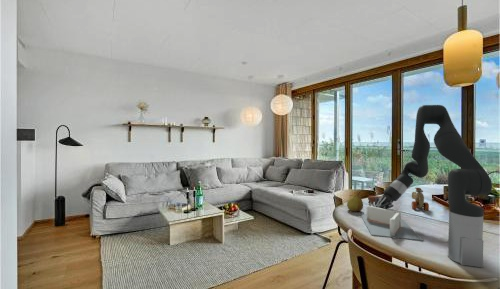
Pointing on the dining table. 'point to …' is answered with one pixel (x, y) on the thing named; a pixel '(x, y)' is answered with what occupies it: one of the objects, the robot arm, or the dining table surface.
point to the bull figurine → (372, 200)
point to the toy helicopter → (419, 200)
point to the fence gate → (380, 214)
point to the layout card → (384, 229)
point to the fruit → (355, 203)
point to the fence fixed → (395, 223)
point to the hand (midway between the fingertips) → (373, 213)
